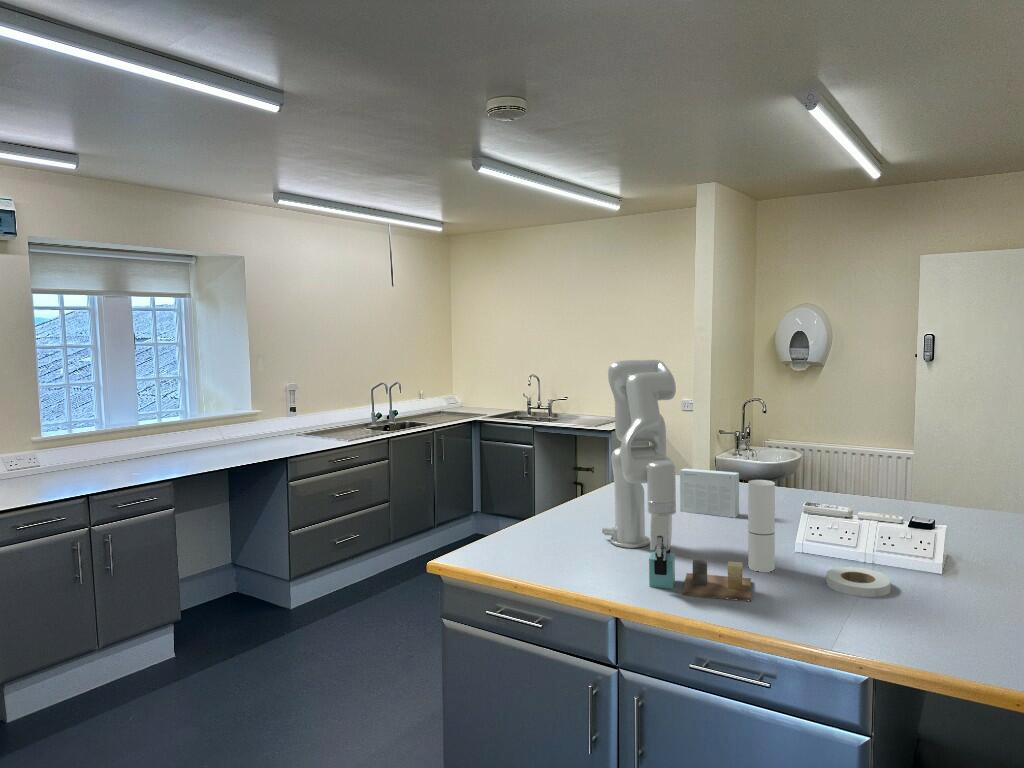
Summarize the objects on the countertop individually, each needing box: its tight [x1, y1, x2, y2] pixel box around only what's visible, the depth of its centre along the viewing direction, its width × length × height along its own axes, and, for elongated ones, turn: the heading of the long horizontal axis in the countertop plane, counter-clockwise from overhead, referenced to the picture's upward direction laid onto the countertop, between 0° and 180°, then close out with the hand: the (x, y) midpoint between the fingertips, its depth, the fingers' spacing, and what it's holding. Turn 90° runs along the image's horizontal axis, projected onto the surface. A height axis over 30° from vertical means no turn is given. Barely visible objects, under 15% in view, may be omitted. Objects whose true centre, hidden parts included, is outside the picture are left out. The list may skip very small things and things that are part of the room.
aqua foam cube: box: [648, 551, 676, 590], centre depth 190 cm, size 6×6×8 cm
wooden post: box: [727, 561, 743, 589], centre depth 184 cm, size 4×4×6 cm
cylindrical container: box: [747, 479, 776, 573], centre depth 199 cm, size 7×7×25 cm
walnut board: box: [682, 558, 752, 602], centre depth 186 cm, size 17×14×7 cm
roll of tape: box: [825, 566, 892, 598], centre depth 185 cm, size 16×15×3 cm
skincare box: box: [679, 468, 740, 519], centre depth 259 cm, size 21×6×16 cm, turn 58°
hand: (662, 568), depth 190 cm, fingers open, 9 cm apart
